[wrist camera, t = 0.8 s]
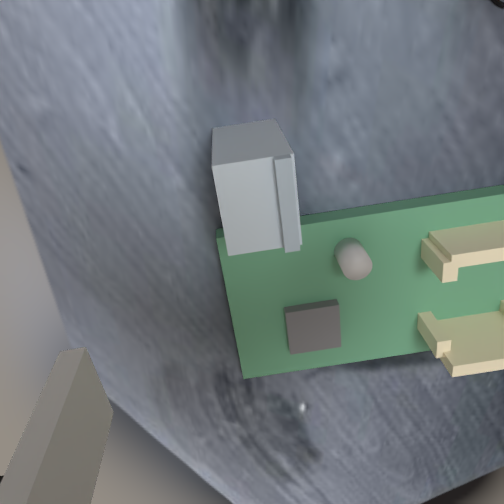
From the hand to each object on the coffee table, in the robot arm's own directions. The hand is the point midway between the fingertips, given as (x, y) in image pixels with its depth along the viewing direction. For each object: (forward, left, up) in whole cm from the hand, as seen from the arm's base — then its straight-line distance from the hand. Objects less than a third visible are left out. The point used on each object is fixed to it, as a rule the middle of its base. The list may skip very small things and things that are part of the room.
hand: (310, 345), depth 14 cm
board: (+11, +8, -19) cm, 23 cm away
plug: (0, -1, -19) cm, 19 cm away
